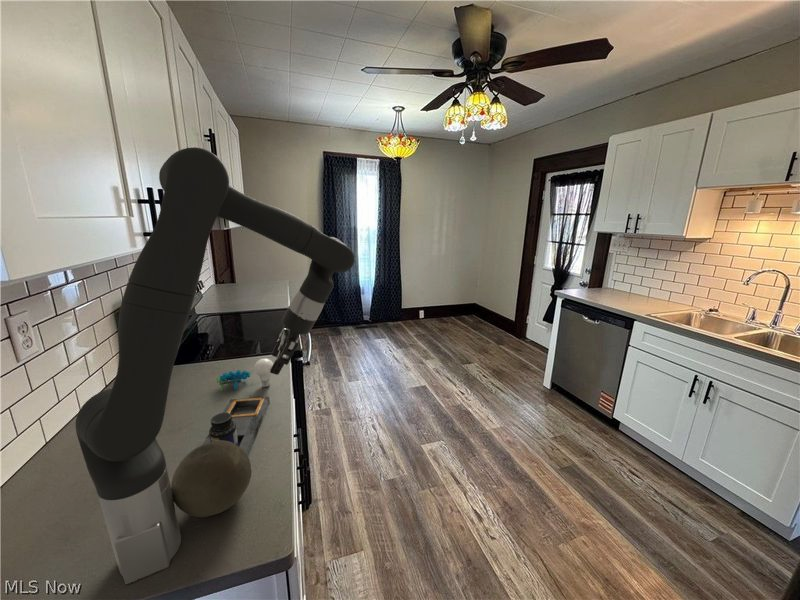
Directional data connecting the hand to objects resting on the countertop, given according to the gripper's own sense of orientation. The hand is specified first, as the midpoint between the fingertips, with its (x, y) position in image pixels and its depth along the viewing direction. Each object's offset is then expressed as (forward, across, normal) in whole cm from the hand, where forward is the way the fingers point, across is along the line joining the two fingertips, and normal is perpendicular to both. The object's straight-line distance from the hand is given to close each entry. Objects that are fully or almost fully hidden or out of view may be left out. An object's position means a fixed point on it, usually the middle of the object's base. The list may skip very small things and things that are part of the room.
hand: (274, 364), depth 82 cm
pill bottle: (+28, +2, 0) cm, 28 cm away
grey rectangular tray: (+28, -7, +2) cm, 29 cm away
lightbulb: (+27, -31, +8) cm, 42 cm away
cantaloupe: (+26, +19, 0) cm, 32 cm away
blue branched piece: (+32, -35, -1) cm, 48 cm away
